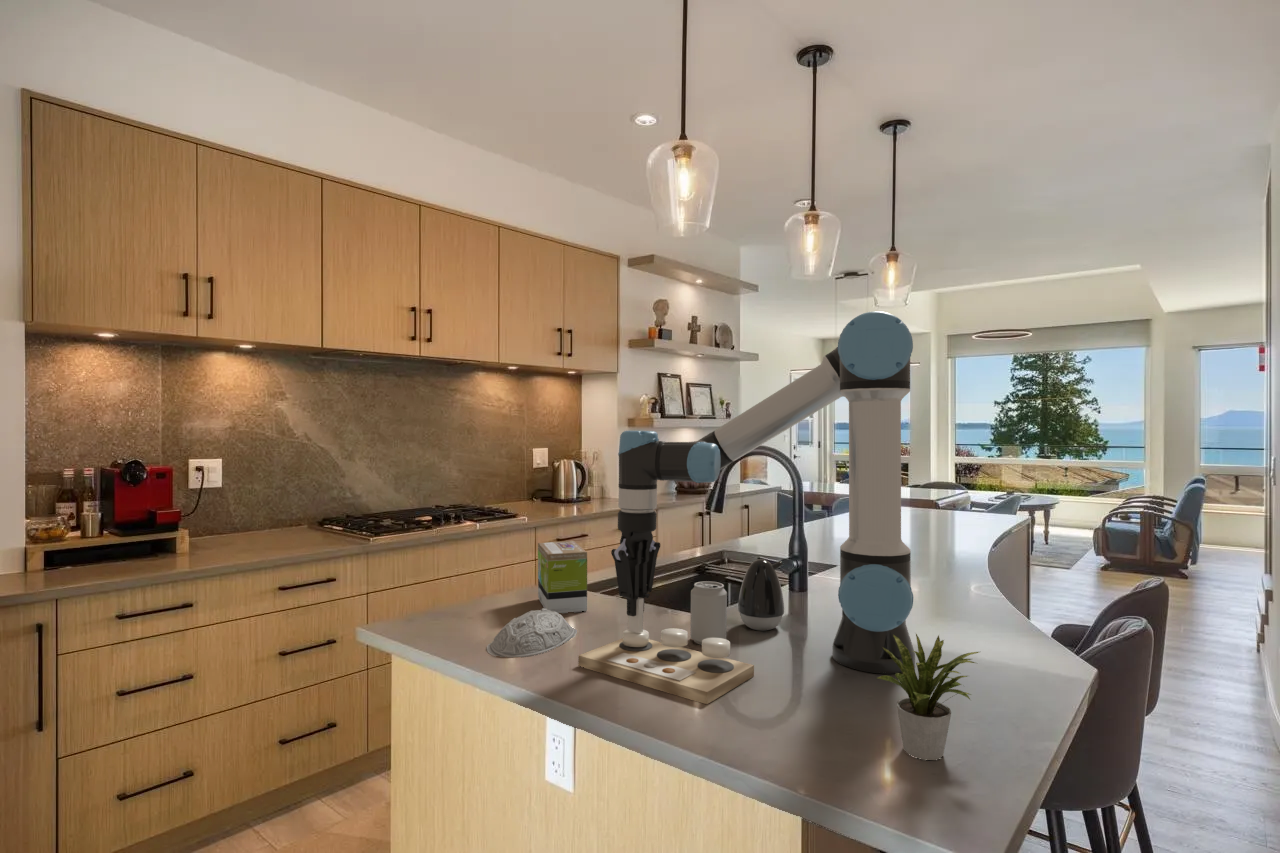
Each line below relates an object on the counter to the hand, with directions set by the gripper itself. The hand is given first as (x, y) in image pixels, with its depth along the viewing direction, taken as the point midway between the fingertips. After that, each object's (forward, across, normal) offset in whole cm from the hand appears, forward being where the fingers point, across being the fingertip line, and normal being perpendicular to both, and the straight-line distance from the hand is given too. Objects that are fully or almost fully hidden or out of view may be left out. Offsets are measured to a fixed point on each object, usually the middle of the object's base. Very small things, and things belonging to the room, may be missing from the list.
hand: (635, 631), depth 135 cm
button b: (0, 0, +9) cm, 9 cm away
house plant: (+5, +7, +56) cm, 57 cm away
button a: (0, 0, +18) cm, 18 cm away
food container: (+6, +5, -23) cm, 24 cm away
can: (+5, -17, +6) cm, 19 cm away
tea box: (+5, -18, -37) cm, 41 cm away
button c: (+2, 0, 0) cm, 2 cm away
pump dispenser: (+5, -33, +10) cm, 35 cm away
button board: (+5, +3, +9) cm, 11 cm away
